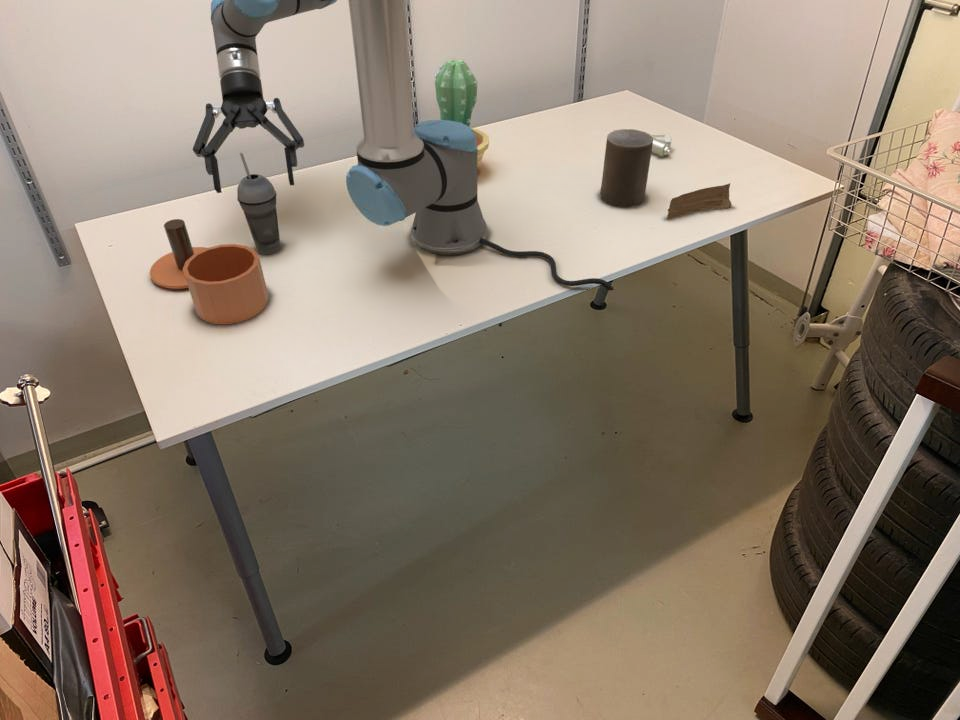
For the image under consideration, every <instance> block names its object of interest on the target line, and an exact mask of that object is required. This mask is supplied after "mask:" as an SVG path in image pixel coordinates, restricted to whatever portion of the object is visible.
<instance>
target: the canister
mask: <svg viewBox="0 0 960 720" xmlns="http://www.w3.org/2000/svg"><path fill="white" fill-rule="evenodd" d="M183 273H184V276H185V279H186V282H187V285H188V288H187V289H188V291H189V294H190V297H191V300H192V303H193V306H194V309H195V311H196V314H197V316H198V317H199V318H200V319H201V320H203V321H204V322H206V323H209V324H214V325H233V324H238V323H241V322H245V321H247V320H249V319H252V318H254V317H255V316H258V314H260V313H261V312H262V311H264V309H265V308H266V307H267V305H268V302H269V292H268V288H267V283H266V279H265V275H264V271H263V266H262V263H261V259H260V257H259V254H258V251H256V250H255V249H253V248H252V247H250V246H247V245H243V244H237V243H228V244H218V245H213V246H209V247H206V249H204V250H202V251H199V252H197V253H195V254H194V255H193V256H191V257H190V258H189V259H188V260H187V261H186V262H185V264H184V267H183Z"/></svg>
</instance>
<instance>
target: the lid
mask: <svg viewBox="0 0 960 720" xmlns="http://www.w3.org/2000/svg"><path fill="white" fill-rule="evenodd" d="M163 227H164V231H165V234H166V236H167V240H168V242H169V246H170V249H171V252H168V253H167V254H164V255H163V256H160V257H159V258H158V259H157V260H156V261H154V262H153V264H152V265H151V267H150V269H149V276H150V279H151V281H152V282H153V283H155V285H157V286H160V287H162V288H167V289H175V290H176V289H180V290H181V289H189V288H188V285H187V282H186V279H185V276H184V273H183V267H184V264H185V262H186V261H187V260H188V259H189V258H190V257H191V256H193V255H194V254H195V253H197V252H199V251H202V250H204V249H206V248H207V247H204V246H193V245H192V241H191V239H190V235H189V233H188V229H187V226H186V222H185V221H184V219H180V218H175V219H171V220H167V221H166V222H165V223H163Z"/></svg>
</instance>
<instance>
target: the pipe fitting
mask: <svg viewBox="0 0 960 720" xmlns="http://www.w3.org/2000/svg"><path fill="white" fill-rule="evenodd" d="M650 135H651V136H652V137H653V145H652V152H651V154H654V155H657V156H659V157H661V158H663V157H665V156H667V155H669V154H670V153H671V145H672V136H671V134H657V135H656V134H650Z"/></svg>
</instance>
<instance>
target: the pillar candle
mask: <svg viewBox="0 0 960 720" xmlns="http://www.w3.org/2000/svg"><path fill="white" fill-rule="evenodd" d="M651 135H652V134H650V133H649V132H646V131H644V130H639V129H635V128H634V129H631V128H622V129H614V130H612V131H611V132H609V133H608V134H607V135H606V143H605V151H604V161H603V169H602V177H601V183H600V184H601V185H600V191H599V194H600V198H601V199H602V201H603V202H604V203H606V204H608V205H610V206H613V207H619V208H620V207H621V208H633V207H637V206H639V205H642V203H644V201H645V197H646V191H647V183H648V178H649V171H650V164H651V159H652V145H653V137H652V136H651Z"/></svg>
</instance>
